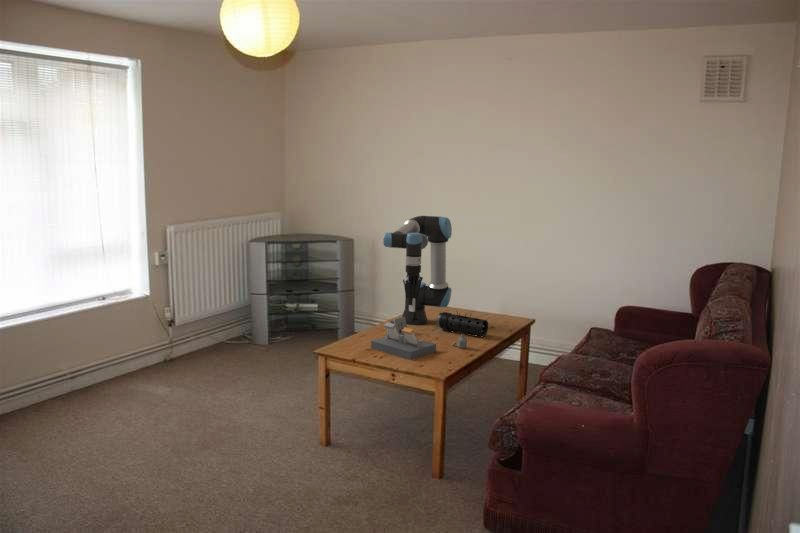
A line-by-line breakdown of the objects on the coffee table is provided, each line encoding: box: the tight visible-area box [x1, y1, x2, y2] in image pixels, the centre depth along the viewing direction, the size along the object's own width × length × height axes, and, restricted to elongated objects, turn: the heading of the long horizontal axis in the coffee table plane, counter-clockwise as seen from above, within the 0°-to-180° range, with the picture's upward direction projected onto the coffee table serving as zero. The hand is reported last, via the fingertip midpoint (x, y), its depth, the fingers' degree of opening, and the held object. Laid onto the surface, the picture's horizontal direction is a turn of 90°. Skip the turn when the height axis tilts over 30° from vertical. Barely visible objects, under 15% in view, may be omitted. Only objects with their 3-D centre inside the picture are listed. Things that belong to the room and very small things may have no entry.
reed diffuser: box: [451, 311, 472, 349], centre depth 342 cm, size 10×7×20 cm
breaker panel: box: [370, 331, 437, 361], centre depth 336 cm, size 20×26×7 cm
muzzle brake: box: [436, 311, 489, 338], centre depth 371 cm, size 10×28×10 cm, turn 58°
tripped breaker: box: [402, 327, 418, 345], centre depth 330 cm, size 2×6×10 cm
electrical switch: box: [390, 316, 408, 335], centre depth 365 cm, size 9×5×9 cm, turn 141°
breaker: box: [383, 322, 399, 340], centre depth 337 cm, size 2×6×10 cm
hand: (411, 311), depth 331 cm, fingers closed
